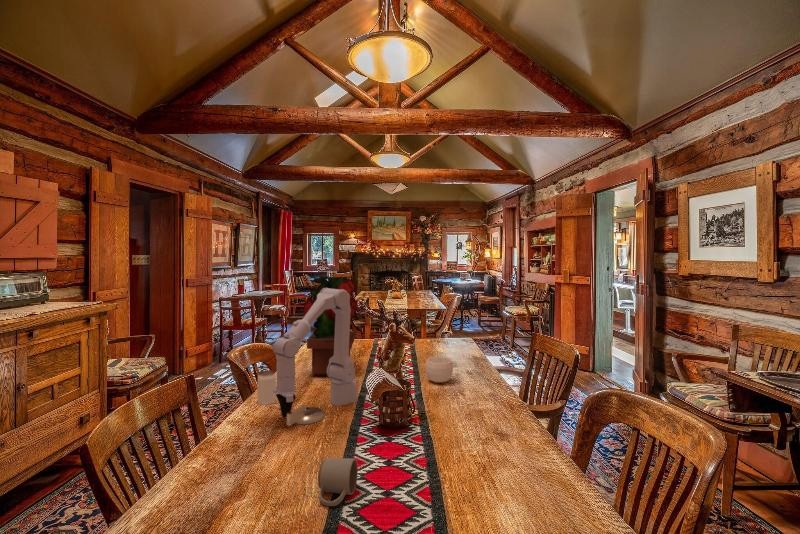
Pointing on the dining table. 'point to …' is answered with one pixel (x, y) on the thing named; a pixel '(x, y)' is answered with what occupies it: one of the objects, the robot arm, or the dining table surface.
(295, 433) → the dining table surface
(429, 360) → the cup
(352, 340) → the potted plant
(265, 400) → the can
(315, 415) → the dial
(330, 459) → the ceramic mug
